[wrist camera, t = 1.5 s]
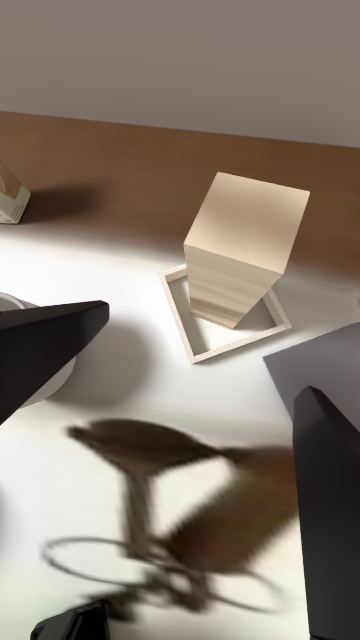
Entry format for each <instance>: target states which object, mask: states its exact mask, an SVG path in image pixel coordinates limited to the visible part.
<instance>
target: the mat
mask: <svg viewBox="0 0 360 640" xmlns="http://www.w3.org/2000/svg"><path fill="white" fill-rule="evenodd" d="M262 358H263V360H264V362H265V364H266V366H267V368H268V371H269V373H270V375H271V377H272V379H273V381H274V383H275V385H276V387H277V390H278V392H279V394H280V396H281V398H282V400H283V402H284V404H285V407H286V409H287V411H288V413H289V415H290V417H291V419H292V421H293V403H294V399H295V397H296V396H297V395H298V394H299V393H300V392H301V391H302V390H303V389H304V388H305V387H306V386H308V385H310V386H313V387H315V388H318V389H320V390H321V391H322V392H323V393H324V394H325V395H326V396H327V397H328V398H329V399H330V400H331V401H332V403H333V404H334V405H335V406H336V407H337V408H338V409H339V410H340V411H341V412H342V413H343V415H344V416H345V417H346V418H347V419H348V420H349V421H350V422H351V423H352V424H353V425H354V427H355V428H356V429H357V430H358V431H359V432H360V322H358V323H355V324H353V325H350V326H347V327H344V328H342V329H339V330H336V331H333V332H331V333H328V334H325V335H322V336H320V337H317V338H314V339H311V340H309V341H306V342H303V343H300V344H298V345H295V346H292V347H290V348H287V349H284V350H281V351H279V352H276V353H273V354H270V355H268V356H265V357H262Z"/></svg>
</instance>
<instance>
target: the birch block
mask: <svg viewBox="0 0 360 640" xmlns="http://www.w3.org/2000/svg"><path fill="white" fill-rule="evenodd" d="M309 194H310V192H308V191H303V190H299V189H294V188H290V187H285V186H281V185H276V184H271V183H267V182H262V181H258V180H253V179H248V178H244V177H239V176H235V175H230V174H225V173H221V172H218V173H217V175H216V177H215V179H214V181H213V183H212V185H211V187H210V189H209V192H208V194H207V196H206V198H205V200H204V202H203V204H202V206H201V208H200V210H199V213H198V215H197V217H196V219H195V221H194V223H193V225H192V227H191V229H190V231H189V233H188V236H187V238H186V240H185V242H184V251H185V260H186V269H187V278H188V287H189V295H190V304H191V313H192V315H194V316H196V317H199V318H201V319H204V320H207V321H209V322H212V323H215V324H217V325H220V326H222V327H225V328H228V329H230V330H232V329H233V328H234V327H235V326H236V325H237V324H238V323H239V322H240V320H241V319H242V318H243V317H244V316H245V315H246V314H247V313H248V312H249V311H250V310H251V309H252V307H253V306H254V305H255V304H256V303H257V302H258V301H259V300H260V299H261V298H262V297H263V295H264V294H265V293H266V292H267V291H268V290H269V289H270V288H271V287H272V286H273V285H274V284H275V282H276V281H277V280H278V279H279V278H280V277H281V276H282V275H283V273H284V270H285V267H286V264H287V261H288V258H289V255H290V252H291V249H292V246H293V243H294V240H295V237H296V234H297V231H298V228H299V225H300V222H301V219H302V215H303V212H304V209H305V206H306V203H307V200H308V197H309Z"/></svg>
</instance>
